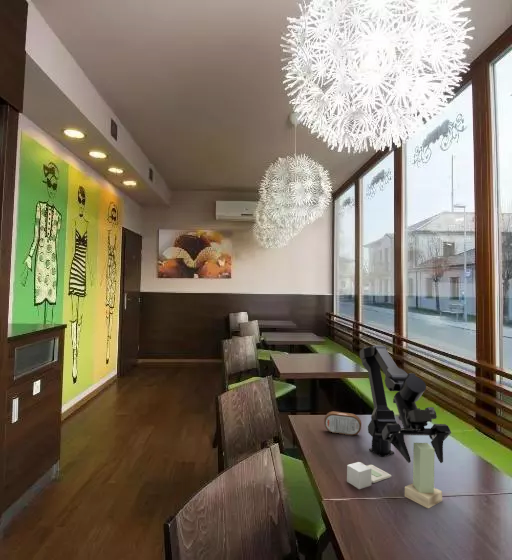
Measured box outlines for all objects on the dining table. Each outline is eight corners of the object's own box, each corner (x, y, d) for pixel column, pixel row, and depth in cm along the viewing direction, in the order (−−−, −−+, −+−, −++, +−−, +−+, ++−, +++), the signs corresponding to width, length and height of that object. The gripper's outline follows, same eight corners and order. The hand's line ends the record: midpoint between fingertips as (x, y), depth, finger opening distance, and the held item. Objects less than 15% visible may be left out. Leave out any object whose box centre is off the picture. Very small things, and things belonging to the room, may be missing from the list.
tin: (361, 434, 148) (361, 413, 149) (361, 437, 145) (361, 416, 146) (324, 430, 152) (324, 409, 153) (323, 432, 149) (323, 412, 150)
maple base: (418, 490, 106) (418, 480, 107) (442, 502, 101) (442, 491, 101) (404, 497, 102) (404, 486, 103) (428, 510, 97) (428, 498, 97)
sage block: (412, 484, 104) (413, 442, 104) (426, 485, 104) (427, 442, 104) (419, 492, 100) (420, 448, 100) (433, 492, 100) (434, 448, 100)
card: (371, 466, 120) (371, 463, 120) (391, 476, 113) (391, 474, 113) (353, 471, 116) (353, 469, 116) (373, 483, 109) (373, 480, 109)
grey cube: (358, 478, 112) (359, 461, 113) (371, 485, 108) (371, 468, 108) (347, 481, 110) (347, 465, 110) (359, 489, 106) (359, 472, 106)
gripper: (385, 395, 106) (402, 450, 95) (447, 396, 107) (471, 450, 96) (375, 414, 114) (389, 466, 102) (433, 414, 115) (453, 466, 103)
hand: (425, 462), depth 101 cm, fingers open, 9 cm apart
